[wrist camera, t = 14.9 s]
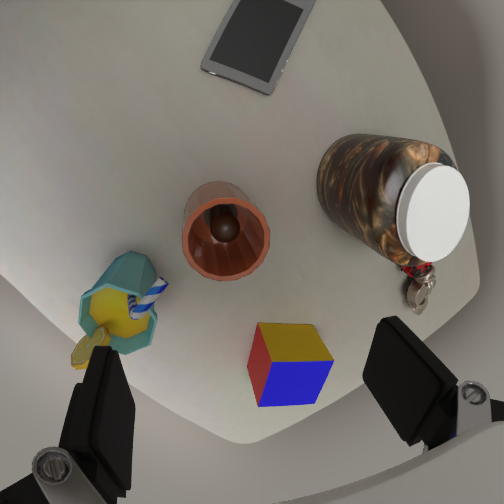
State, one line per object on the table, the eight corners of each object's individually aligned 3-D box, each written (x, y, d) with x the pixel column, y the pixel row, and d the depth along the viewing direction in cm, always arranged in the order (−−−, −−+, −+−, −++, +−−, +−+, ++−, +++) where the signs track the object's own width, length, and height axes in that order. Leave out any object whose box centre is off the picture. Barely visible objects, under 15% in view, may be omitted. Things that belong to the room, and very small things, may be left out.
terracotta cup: (186, 247, 35) (185, 283, 27) (183, 182, 32) (179, 200, 24) (250, 243, 36) (268, 278, 28) (251, 180, 33) (271, 196, 25)
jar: (409, 184, 37) (492, 215, 23) (352, 245, 39) (423, 302, 25) (360, 115, 33) (449, 117, 19) (295, 181, 34) (361, 216, 21)
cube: (257, 322, 40) (272, 361, 33) (312, 324, 42) (334, 360, 35) (247, 366, 43) (257, 406, 36) (297, 366, 45) (314, 403, 38)
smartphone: (269, 97, 30) (271, 96, 29) (198, 69, 28) (198, 68, 27) (316, -3, 26) (319, -5, 25) (253, -31, 23) (254, -34, 23)
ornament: (447, 262, 40) (428, 253, 43) (427, 276, 37) (407, 266, 40) (434, 305, 44) (417, 295, 47) (413, 322, 41) (396, 311, 44)
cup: (148, 200, 32) (117, 250, 18) (200, 244, 35) (207, 317, 21) (83, 286, 34) (40, 366, 20) (131, 322, 37) (112, 410, 23)
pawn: (204, 230, 34) (207, 252, 28) (203, 198, 33) (205, 214, 27) (236, 228, 34) (246, 250, 28) (236, 196, 33) (246, 211, 27)
